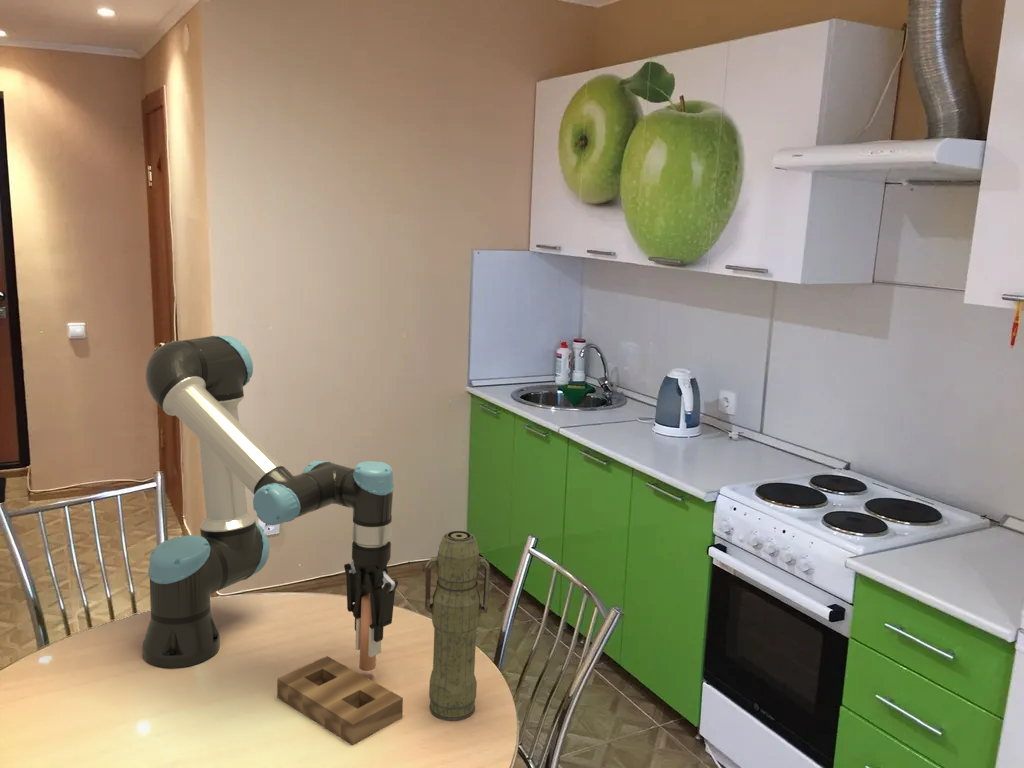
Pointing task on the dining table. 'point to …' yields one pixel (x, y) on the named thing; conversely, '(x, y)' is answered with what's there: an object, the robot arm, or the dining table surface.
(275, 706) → the dining table surface
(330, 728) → the hole block
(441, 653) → the thermos
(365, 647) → the peg
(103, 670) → the dining table surface
